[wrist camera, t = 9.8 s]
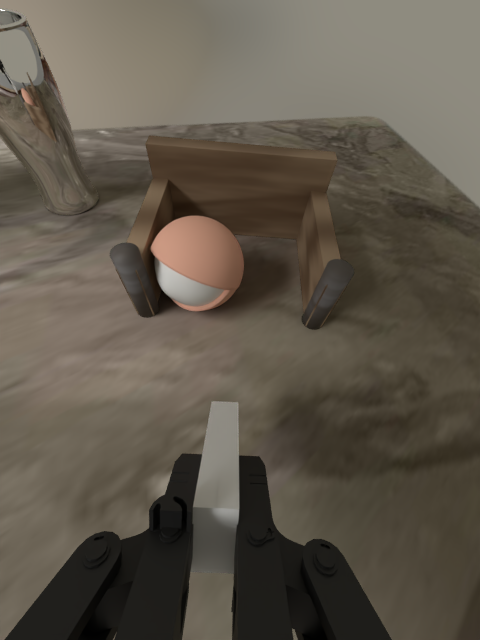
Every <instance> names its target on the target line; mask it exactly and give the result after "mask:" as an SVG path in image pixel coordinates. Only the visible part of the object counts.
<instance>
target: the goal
mask: <svg viewBox="0 0 480 640" xmlns="http://www.w3.org/2000/svg"><path fill="white" fill-rule="evenodd" d="M145 144H146V149H147V153H148V158H149V162H150V167H151V171H152V175H153V179H152V181H151V184H150V186H149V189H148V191H147V194H146V196H145V199H144V201H143V203H142V206H141V208H140V211H139V213H138V216H137V218H136V221H135V223H134V225H133V228H132V230H131V233H130V235H129V238H128V240H127V242H126V243H121V244H118V245H116V246H114V247H113V248H112V249H111V251H110V257H111V259H112V261H113V263H114V265H115V267H116V271H117V273H118V275H119V277H120V279H121V281H122V283H123V285H124V287H125V289H126V291H127V293H128V295H129V297H130V299H131V301H132V303H133V305H134V307H135V309H136V311H137V313H138V315H140V316H142V317H151V316H154V315H155V314H156V313H157V312H158V310H159V304H158V300H159V297H160V293H161V287H160V285H159V283H158V280H157V277H156V273H155V267H154V259H155V256H154V255H153V253H152V252H151V246H152V244H153V241H154V240H155V238H156V236H157V235H158V233H159V232H160V231H161V230H162V229H163V228H164V227H165V226H166V225H168V224H169V223H171V222H172V221H174V220H176V219H179V218H182V217H186V216H204V217H208V218H211V219H214V220H216V221H218V222H220V223H221V224H223V225H224V226H225V227H227V228H228V229H229V230H230V231H231V232H232V234H237V235H249V236H262V237H274V238H287V239H297V250H298V260H299V270H300V280H301V291H302V301H303V311H304V314H303V316H302V322H303V324H304V325H305V327H307V328H309V329H319V328H321V327H322V325H323V324H324V322H325V320H326V319H327V317H328V316H329V314H330V312H331V311H332V309H333V308H334V306H335V305H336V303H337V301H338V300H339V298H340V297H341V295H342V293H343V292H344V290H345V289H346V287H347V284H348V283H349V281H350V280H351V278H352V276H353V275H354V269H353V267H352V266H351V265H350V264H349V263H348V262H346V261H344V260H341V258H340V253H339V249H338V244H337V240H336V235H335V230H334V226H333V221H332V217H331V212H330V208H329V203H328V198H327V194H326V191H327V189H328V186H329V183H330V180H331V177H332V174H333V172H334V169H335V166H336V163H337V157H336V154H335V152H330V151H318V150H307V149H295V148H284V147H272V146H261V145H250V144H238V143H227V142H215V141H204V140H192V139H181V138H170V137H158V136H149V137H148V139H147V141H146V143H145Z"/></svg>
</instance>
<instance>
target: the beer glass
mask: <svg viewBox="0 0 480 640" xmlns="http://www.w3.org/2000/svg"><path fill="white" fill-rule="evenodd" d="M0 138H1V140H2V141H3V142H4V143H5V144H6V146H7V147H8V148H9V149H10V150H11V152H12V153H13V154H14V155H15V156H16V157H17V159H18V160H19V161H20V162H21V163H22V165H23V166H24V167H25V168H26V170H27V171H28V172H29V174H30V175H31V177H32V178H33V181H34V182H35V184H36V186H37V188H38V190H39V192H40V195H41V197H42V200H43V202H44V205H45V206H46V208H47V209H48V210H49V211H51V212H52V213H55V214H58V215H75V214H79V213H82V212H85V211H87V210H89V209H91V208H92V207H93V206H94V205H95V204H96V203H97V201H98V198H99V196H98V192H97V190H96V189H95V187H94V185H93V184H92V182H91V181H90V179H89V178H88V176H87V174H86V173H85V171H84V169H83V167H82V164H81V161H80V159H79V155H78V152H77V148H76V145H75V141H74V137H73V133H72V129H71V125H70V121H69V118H68V115H67V112H66V108H65V105H64V102H63V99H62V97H61V94H60V91H59V89H58V86H57V83H56V81H55V79H54V77H53V74H52V72H51V70H50V67H49V65H48V63H47V61H46V59H45V57H44V55H43V53H42V50H41V48H40V46H39V45H38V42H37V40H36V38H35V36H34V34H33V32H32V30H31V28H30V26H29V23H28V21H27V18H26V16H25V15H24V14H22V13H20V12H18V11H13V10H9V9H2V8H0Z"/></svg>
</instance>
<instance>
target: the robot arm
mask: <svg viewBox="0 0 480 640" xmlns="http://www.w3.org/2000/svg"><path fill="white" fill-rule="evenodd" d="M190 571H191V572H206V573H232V574H234V586H233V599H232V611H231V612H233V619H232V640H293V634H292V628H293V629H295V632H296V635H297V638H298V640H392V639H391V638H390V636H389V634H388V632H387V631H386V629H385V627H384V626H383V624H382V622H381V620H380V619H379V617H378V615H377V613H376V612H375V610H374V608H373V606H372V605H371V603H370V601H369V599H368V598H367V596H366V594H365V592H364V591H363V589H362V587H361V586H360V584H359V582H358V580H357V579H356V577H355V575H354V573H353V572H352V570H351V568H350V566H349V565H348V563H347V561H346V559H345V558H344V556H343V555H342V553H341V552H340V551H339V550H338V548H337V547H335V546H334V545H333V544H331V543H330V542H328V541H325V540H322V539H313V540H311V541H309V542H307V544H306V545H305V546H303V545H300V544H298V543H295V542H293V541H291V540H289V539H287V538H285V537H284V536H283V535H282V534H281V533H280V532H279V531H278V530H277V529H276V527H275V525H274V523H273V519H272V513H271V505H270V498H269V491H268V485H267V477H266V469H265V465H264V463H263V461H262V460H261V458H260V457H259V456H239V426H238V402H220V401H212V403H211V409H210V414H209V420H208V426H207V431H206V437H205V442H204V448H203V454H182V455H181V456H180V457H179V458H178V459H177V460H176V461H175V464H174V467H173V470H172V474H171V477H170V481H169V483H168V487H167V490H166V493H165V495H163V496H161V497H159V498H158V499H157V500H156V501H155V502H154V503H153V504H152V506H151V508H150V509H149V529H147V530H146V531H144V532H143V533H141V534H138V535H136V536H133V537H129V538H126V539H122V540H120V538H119V536H118V535H116V534H115V533H113V532H107V531H104V532H100V533H96V534H94V535H92V536H91V537H89V538H87V539H86V540H85V541H84V542H83V543H82V544H81V545H80V546H79V547H78V548H77V549H76V550H75V552H74V553H73V554H72V555H71V557H70V558H69V559H68V560H67V562H66V563H65V564H64V566H63V567H62V568H61V569H60V571H59V572H58V573H57V574H56V576H55V577H54V578H53V579H52V581H51V582H50V583H49V584H48V586H47V587H46V588H45V589H44V591H43V592H42V593H41V594H40V596H39V597H38V598H37V600H36V601H35V602H34V603H33V605H32V606H31V607H30V608H29V610H28V611H27V612H26V613H25V615H24V616H23V617H22V618H21V620H20V621H19V622H18V623H17V625H16V626H15V627H14V629H13V630H12V631H11V632H10V634H9V635H8V636H7V637H6V639H5V640H113V638H114V636H115V634H116V636H115V639H114V640H182V635H183V628H184V621H185V614H186V607H187V600H188V593H189V578H190ZM116 632H117V633H116Z"/></svg>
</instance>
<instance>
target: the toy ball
mask: <svg viewBox="0 0 480 640" xmlns="http://www.w3.org/2000/svg"><path fill="white" fill-rule="evenodd" d="M151 252H152V253H153V255H154V256H155V259H154V267H155V273H156V277H157V280H158V283H159V285H160V287H161V289H162V290H163V292H164V293H165V294H166V295H168V296H169V297H170V298H171V299H172V300H173V301H174V302H175V303H176V304H177V305H179V306H180V307H182V308H184V309H186V310H190V311H205V310H209V309H213V308H215V307H218V306H220V305H221V304H223V303H224V302H226V301H227V300H228V299H229V298H230V297H231V296H232V295H233V294H234V292H235V291H236V289H238V288H239V286H240V283H241V280H242V277H243V271H244V259H243V254H242V250H241V247H240V245H239V243H238V241H237V239H236V238H235V236H234V235H233V234H232V232H231V231H230V230H229V229H228V228H227V227H225V226H224V225H223V224H221V223H220V222H218V221H216V220H214V219H211V218H208V217H204V216H186V217H182V218H179V219H176V220H174V221H172V222H171V223H169V224H168V225H166V226H165V227H164V228H163V229H162V230H161V231H160V232H159V233H158V235H157V236H156V238H155V240H154V241H153V244H152V246H151Z"/></svg>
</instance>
